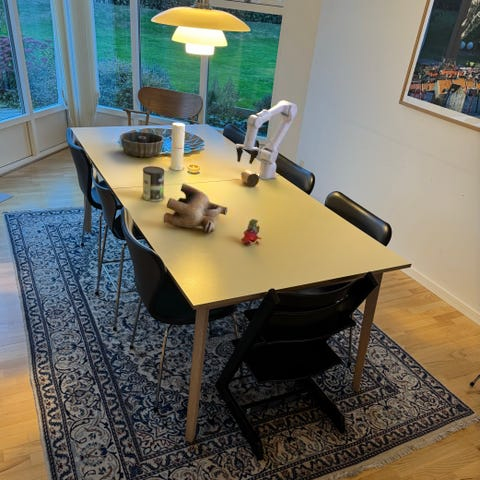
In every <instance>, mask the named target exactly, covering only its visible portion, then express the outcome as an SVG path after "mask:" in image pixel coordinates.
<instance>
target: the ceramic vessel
mask: <svg viewBox="0 0 480 480" xmlns="http://www.w3.org/2000/svg"><path fill="white" fill-rule="evenodd" d="M180 192H182V193H183V194H184V196H185V197H179V198H178V199H175V198H172V197H170V198H169V199H168V201H167V203H166V208H167V209H168V210H170V211H173V213H170V212H165V213H164V215H163V224H164V223H166V224H170V225H173V226H175V227H181V228H185V229H194V228H197V227H202V231H203V232H204V233H208V234H209V233H214V231H215V230H216V228H217V220H218V217H219V216H220V215H223V216H226V215H227V214H228V209H229V207H227V206H224V205H220V204H217V203H214V202H212V201H210V198H209V197H208V195H207V194H206V193H204V192H203V191H201V190H199V189H197V188H195V187H193V186H191V185H189V184H186V183H184V182H183V183H182V185H181V187H180Z"/></svg>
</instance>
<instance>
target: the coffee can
mask: <svg viewBox="0 0 480 480" xmlns="http://www.w3.org/2000/svg"><path fill="white" fill-rule="evenodd" d="M165 173H166V172H165V169H164V168H163V167H159V166H157V165H156V166H154V165H150V166H144V167H143V168H142V198H143V199H144V200H146V201H149V202H160V201H162V200H164V194H165V193H164V191H165V189H164V188H165Z"/></svg>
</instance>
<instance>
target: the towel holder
mask: <svg viewBox="0 0 480 480" xmlns="http://www.w3.org/2000/svg"><path fill="white" fill-rule="evenodd" d="M257 174H258V173H255V172H252V171H251V170H248V169H245V170H244V171H242V172H241V174H240V178H241V180H242V182H244V183H246V184H247V185H248V186H249V187H250V188H253V187H256V186H258V184H259V181H260V177H259V176H258V175H257Z"/></svg>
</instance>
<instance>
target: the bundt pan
mask: <svg viewBox="0 0 480 480" xmlns="http://www.w3.org/2000/svg"><path fill="white" fill-rule="evenodd" d="M119 138H120V141H121V142H120V143H121V147H122V149H123V151H124V152H125V153H126V154H128V155H129V156H134V157H140V158H142V157H145V158H150V157H151V158H153V157H155V156H157V155H159V154H160V153H161V152H162V150H163V146H164V141H165V138H164V137H163V136H162V135H160V134H158V133H153V132H148V131H127V132H123V133H121V134H119Z"/></svg>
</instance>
